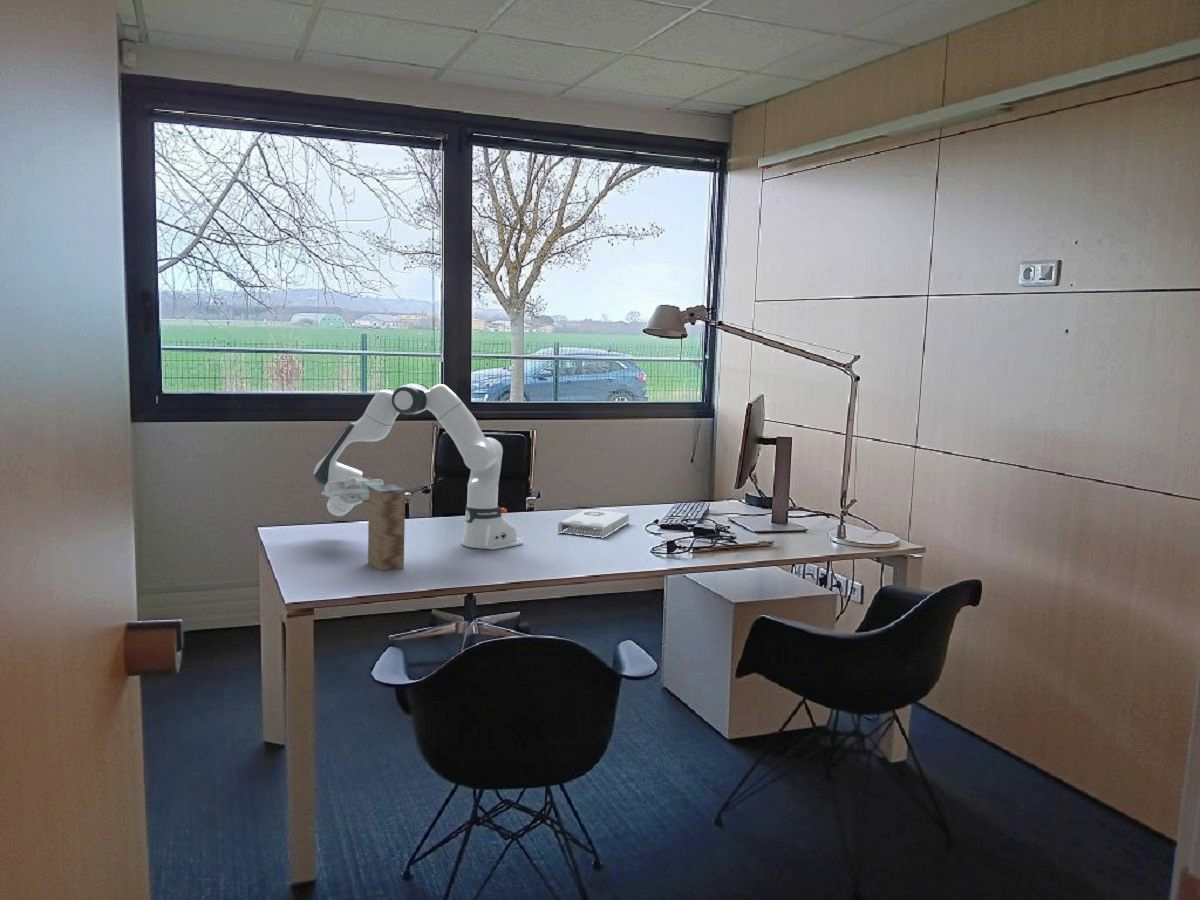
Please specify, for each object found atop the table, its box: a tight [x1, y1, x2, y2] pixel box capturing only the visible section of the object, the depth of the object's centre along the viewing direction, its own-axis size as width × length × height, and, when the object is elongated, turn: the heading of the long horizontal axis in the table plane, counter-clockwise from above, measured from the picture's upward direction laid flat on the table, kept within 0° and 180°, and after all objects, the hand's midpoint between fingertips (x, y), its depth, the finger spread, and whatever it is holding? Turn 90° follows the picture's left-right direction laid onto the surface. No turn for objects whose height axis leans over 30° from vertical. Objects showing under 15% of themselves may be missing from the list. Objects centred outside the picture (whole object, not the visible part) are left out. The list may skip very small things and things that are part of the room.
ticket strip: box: [351, 477, 383, 491], centre depth 301 cm, size 5×20×2 cm, turn 34°
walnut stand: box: [367, 483, 408, 572], centre depth 287 cm, size 9×11×26 cm
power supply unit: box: [557, 508, 630, 537], centre depth 360 cm, size 19×33×5 cm, turn 160°
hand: (360, 479), depth 306 cm, fingers closed on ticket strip, 4 cm apart
